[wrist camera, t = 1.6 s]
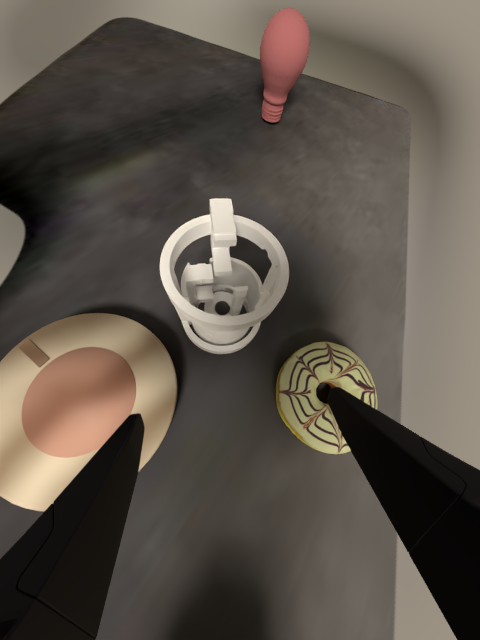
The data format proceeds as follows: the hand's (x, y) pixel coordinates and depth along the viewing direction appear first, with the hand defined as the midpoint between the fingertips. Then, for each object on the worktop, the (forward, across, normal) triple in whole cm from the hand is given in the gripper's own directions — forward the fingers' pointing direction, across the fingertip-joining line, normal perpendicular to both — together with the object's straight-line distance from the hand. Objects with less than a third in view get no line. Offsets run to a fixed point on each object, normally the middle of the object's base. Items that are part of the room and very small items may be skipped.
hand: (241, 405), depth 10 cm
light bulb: (+43, -13, -24) cm, 50 cm away
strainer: (+15, 0, +4) cm, 15 cm away
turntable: (+9, +13, +7) cm, 17 cm away
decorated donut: (+9, -10, +10) cm, 17 cm away
